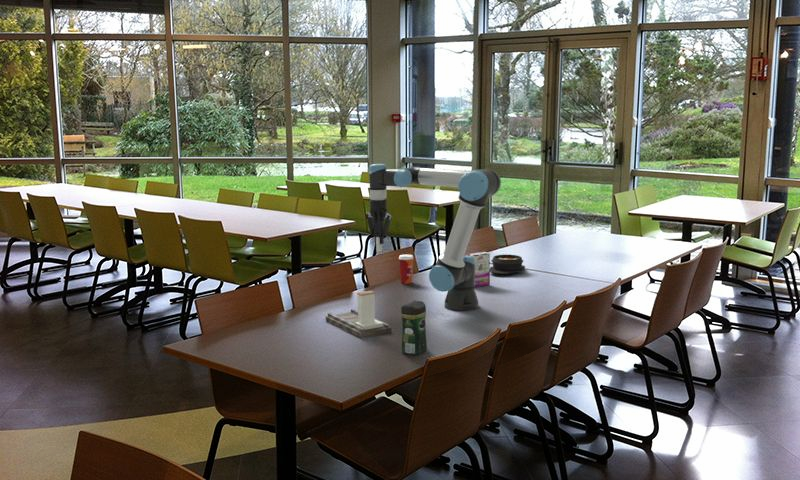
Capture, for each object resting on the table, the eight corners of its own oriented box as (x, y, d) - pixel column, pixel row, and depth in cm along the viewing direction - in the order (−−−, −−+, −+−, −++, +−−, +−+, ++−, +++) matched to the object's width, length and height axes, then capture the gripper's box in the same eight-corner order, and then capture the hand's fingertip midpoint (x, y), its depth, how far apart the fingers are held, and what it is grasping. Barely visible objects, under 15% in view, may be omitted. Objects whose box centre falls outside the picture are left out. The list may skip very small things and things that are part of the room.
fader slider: (354, 326, 312) (354, 293, 310) (374, 322, 317) (373, 289, 314) (363, 330, 306) (362, 296, 304) (383, 326, 311) (382, 293, 308)
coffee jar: (411, 346, 293) (410, 298, 289) (429, 349, 288) (429, 300, 285) (397, 353, 284) (397, 303, 281) (416, 356, 280) (416, 306, 277)
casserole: (511, 278, 403) (512, 262, 401) (480, 274, 413) (480, 259, 412) (533, 270, 423) (533, 254, 421) (502, 266, 433) (503, 251, 432)
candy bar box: (484, 283, 392) (484, 251, 390) (490, 285, 388) (490, 253, 385) (465, 286, 387) (465, 253, 385) (470, 288, 383) (471, 255, 380)
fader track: (325, 320, 328) (325, 313, 328) (354, 315, 336) (354, 308, 335) (360, 338, 303) (360, 330, 303) (391, 332, 311) (391, 324, 310)
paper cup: (412, 284, 392) (412, 257, 389) (397, 284, 393) (397, 256, 391) (415, 281, 399) (414, 254, 397) (400, 280, 401) (400, 253, 399)
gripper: (395, 198, 347) (396, 250, 351) (370, 197, 354) (371, 248, 358) (386, 200, 341) (387, 253, 345) (361, 199, 347) (362, 251, 351)
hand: (379, 251), depth 351 cm, fingers closed
